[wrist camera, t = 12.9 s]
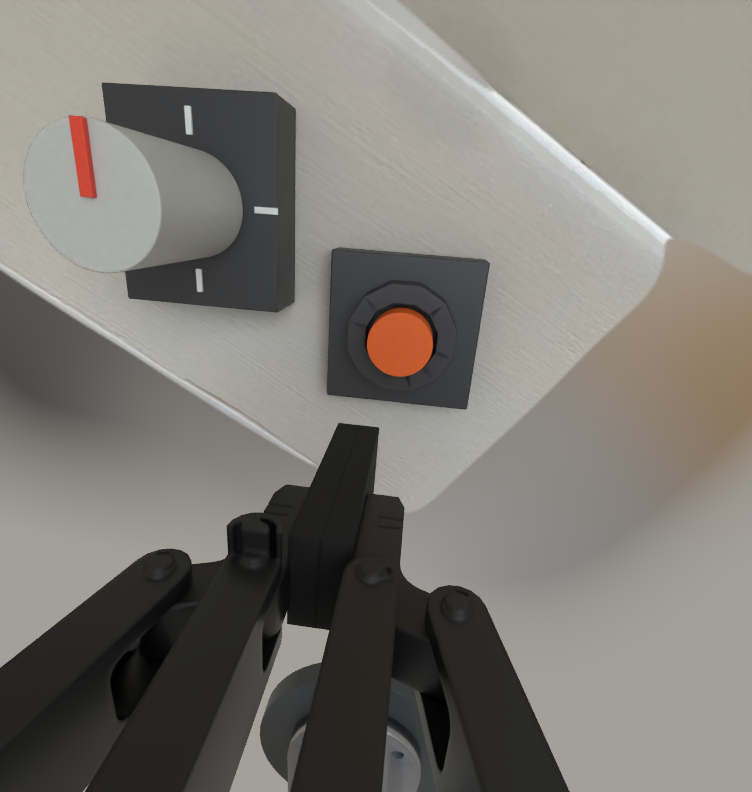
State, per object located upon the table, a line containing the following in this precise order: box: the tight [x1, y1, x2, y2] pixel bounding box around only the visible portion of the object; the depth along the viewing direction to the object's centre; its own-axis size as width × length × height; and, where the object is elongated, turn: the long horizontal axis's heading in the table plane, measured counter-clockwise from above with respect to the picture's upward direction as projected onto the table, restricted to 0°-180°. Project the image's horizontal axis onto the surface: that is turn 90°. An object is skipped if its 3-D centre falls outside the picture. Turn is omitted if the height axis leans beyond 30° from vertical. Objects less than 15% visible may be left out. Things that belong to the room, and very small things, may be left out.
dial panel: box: [102, 83, 296, 312], centre depth 29 cm, size 12×10×4 cm
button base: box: [327, 248, 490, 409], centre depth 31 cm, size 10×10×4 cm
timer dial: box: [23, 115, 243, 273], centre depth 23 cm, size 6×6×9 cm
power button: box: [367, 307, 433, 377], centre depth 29 cm, size 4×4×2 cm
